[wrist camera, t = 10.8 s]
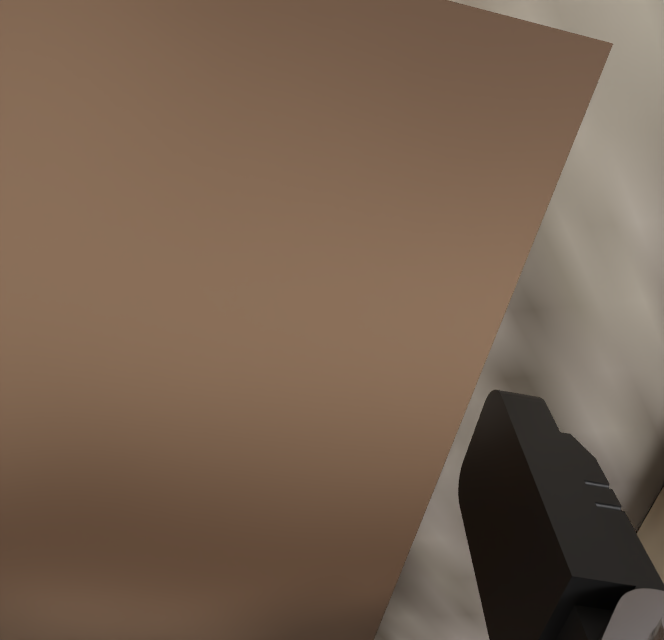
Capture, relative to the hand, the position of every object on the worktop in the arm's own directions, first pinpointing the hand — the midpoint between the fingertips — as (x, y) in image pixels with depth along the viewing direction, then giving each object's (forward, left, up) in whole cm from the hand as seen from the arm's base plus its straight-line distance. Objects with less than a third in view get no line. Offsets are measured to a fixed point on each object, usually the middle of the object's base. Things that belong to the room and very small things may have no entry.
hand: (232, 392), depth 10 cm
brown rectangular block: (0, 0, -2) cm, 2 cm away
